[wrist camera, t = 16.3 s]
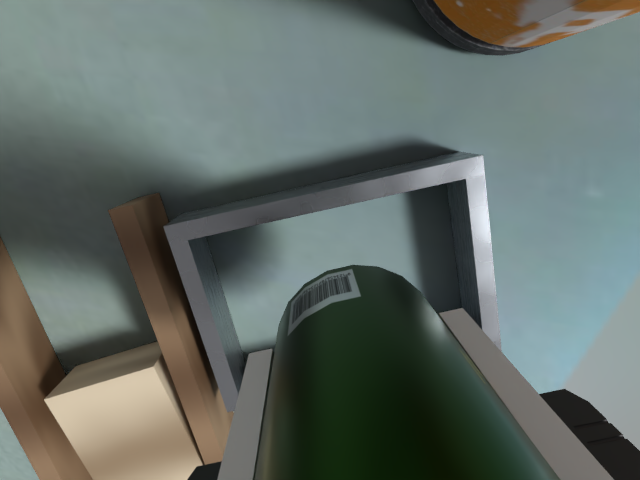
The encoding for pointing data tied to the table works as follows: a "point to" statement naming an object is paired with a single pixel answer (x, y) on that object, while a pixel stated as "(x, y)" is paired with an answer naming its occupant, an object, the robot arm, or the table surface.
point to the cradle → (194, 226)
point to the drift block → (126, 418)
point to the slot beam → (46, 371)
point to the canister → (517, 21)
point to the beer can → (382, 392)
